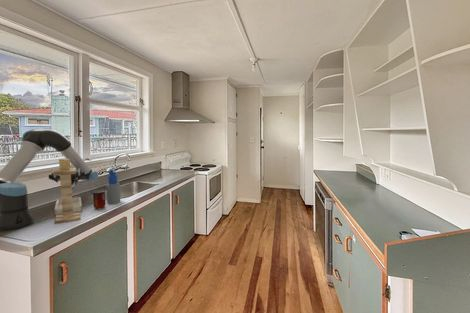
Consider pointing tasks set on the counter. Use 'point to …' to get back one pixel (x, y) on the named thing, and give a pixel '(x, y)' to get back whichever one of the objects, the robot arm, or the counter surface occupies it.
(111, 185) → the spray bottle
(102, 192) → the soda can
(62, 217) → the stand
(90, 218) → the counter surface
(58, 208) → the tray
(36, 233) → the counter surface
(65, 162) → the wooden block
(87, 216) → the counter surface
